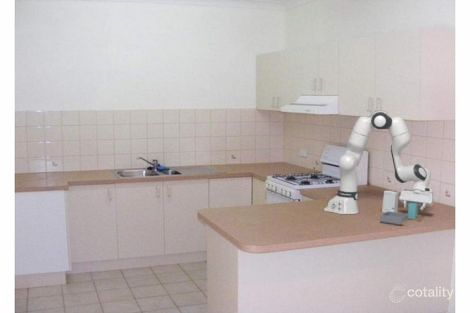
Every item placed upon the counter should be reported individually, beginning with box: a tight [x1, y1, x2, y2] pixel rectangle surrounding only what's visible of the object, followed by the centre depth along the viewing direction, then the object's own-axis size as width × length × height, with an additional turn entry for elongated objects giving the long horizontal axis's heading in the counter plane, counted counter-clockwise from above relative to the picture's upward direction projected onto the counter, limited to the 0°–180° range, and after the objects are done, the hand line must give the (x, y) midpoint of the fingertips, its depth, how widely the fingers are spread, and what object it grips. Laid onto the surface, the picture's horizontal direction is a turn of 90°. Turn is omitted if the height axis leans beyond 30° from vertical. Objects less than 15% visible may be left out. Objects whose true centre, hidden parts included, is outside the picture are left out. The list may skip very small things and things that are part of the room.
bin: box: [379, 211, 409, 227], centre depth 318 cm, size 13×13×5 cm
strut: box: [407, 203, 419, 219], centre depth 324 cm, size 4×4×9 cm
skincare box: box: [381, 190, 400, 214], centre depth 340 cm, size 8×6×15 cm
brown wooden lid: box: [407, 216, 425, 222], centre depth 324 cm, size 12×12×5 cm
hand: (413, 208), depth 324 cm, fingers open, 8 cm apart
